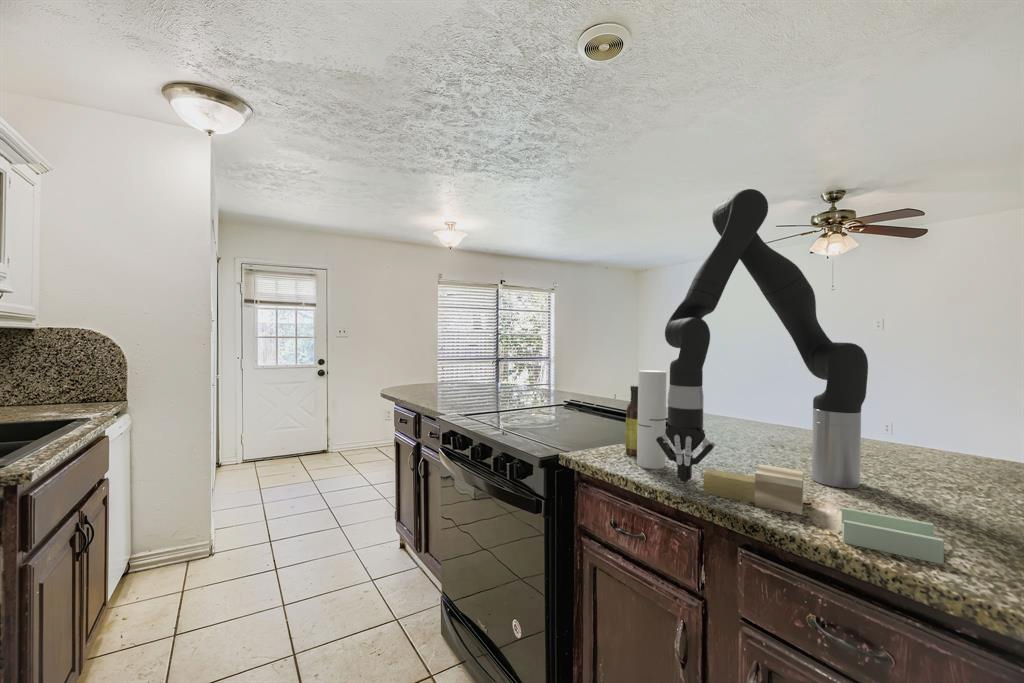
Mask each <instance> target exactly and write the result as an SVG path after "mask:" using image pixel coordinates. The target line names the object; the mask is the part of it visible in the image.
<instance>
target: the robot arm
mask: <svg viewBox="0 0 1024 683" xmlns="http://www.w3.org/2000/svg"><path fill="white" fill-rule="evenodd" d="M768 212H769V203H768V200H767V198H766V196H765V194H763V193H762V192H761V191H760V190H757V189H754V188H747V189H743V190H741V191H738V192H735V193H734V194H733V195H731V196H730V197H727V198H726V199H724V200H723V201H721V202H720V203H719V204H717V205H716V206H715V208H714V209H713V211H712V216H711V219H712V224H713V227H714V229H715V230H716V232H717V233H718V235H720V238H719V240H718V241H717V243H716V245H715V247H714V248H713V249H712V251H710V254H708V255H707V258H706V259H705V260H704V261H703V263H702V264H701V265H700V267H699V269H698V270H697V272H696V273H695V274H694V275H695V276H694V277H693V279H692V281H691V283H690V286H689V288H688V290H687V293H686V295H685V297H684V299H683V300H682V301H681V302H680V304H679V305H678V306H677V308H676V309H675V310H674V312H673V313H672V315H671V316H670V318H669V319H668V321H667V323H666V325H665V329H664V338H665V340H666V343H667V344H668V345H669V346H671V347H672V348H676V349H679V353H678V357H677V358H676V359H674V360H672V361H671V362H670V363H669V364H670V365H669V386H668V387H669V389H668V393H667V427H666V431H665V434H664V435H662V436H659V437H658V438H657V439H656V441H657V443H658V444H659V445H660V447H661V448H662V450H663V451H664V453H665V456H666V457H667V458H668V460H669V461H671V462H672V461H673V462H675V463H676V464H677V465H676V466H677V468H676V469H677V470H676V471H677V476H676V477H677V478H678V479H679V481H680V482H683V483H688V482H689V481H690V480H691V479H692V477H693V474H692V473H693V466H694V465H699V464H700V462H701V461H702V460H703V459H705V457H706V456H708V454H709V453H710V452H712V451H713V449H714V448H715V447H716V443H714V441H713V442H711V441H710V440H708V438H707V437H706V433H705V431H704V391H703V390H704V389H703V381H704V380H703V379H704V378H703V377H704V376H703V374H704V373H703V372H704V371H703V369H704V365H705V362H706V358H707V354H708V350H709V346H710V343H711V332H710V327H709V325H708V323H707V322H706V321H705V320H704V319H703V318H704V317H706V316H708V315H709V314H712V313H714V311H715V309H716V308H717V305H718V304H719V302H720V299H721V297H722V295H723V293H724V290H725V289H726V286H727V284H728V281H729V280H730V278H731V275H732V274H733V271H734V270H735V267H737V265H738V263H739V261H741V263H742V265H743V266H744V267H745V269H746V271H747V272H748V274H749V275H750V276H751V277H752V279H753V280H754V282H755V283H756V285H757V286H758V288H759V290H760V292H761V293H762V295H763V296H764V298H765V299H766V301H767V302H768V304H769V305H770V307H771V308H772V310H773V311H774V312H775V314H776V315H777V317H778V318H779V320H780V321H781V323H782V325H783V327H784V328H785V329H786V331H787V333H788V334H789V336H790V337H791V339H792V340H793V342H794V344H795V346H796V349H797V351H798V353H799V355H800V356H801V358H802V361H803V363H804V364H805V366H806V368H807V370H808V371H809V372H810V373H811V375H813V376H814V377H816V378H818V379H821V380H824V381H826V387H825V390H824V391H823V392H822V393H821V394H818V395H815V396H814V397H813V400H812V443H811V444H812V446H811V450H812V453H811V460H812V461H811V479H812V480H813V481H814V482H816V483H819V484H822V485H824V486H829V487H834V488H842V489H858V488H860V486H861V447H862V446H861V445H862V444H861V443H862V441H861V440H862V436H861V435H862V434H861V433H862V407H863V403H864V402H865V400H866V396H867V388H868V386H867V385H868V375H869V374H868V373H869V361H868V356H867V354H866V352H865V350H864V349H863V347H861V346H860V345H858V344H856V343H854V342H853V343H852V342H833V341H832V339H830V338H829V336H827V334H826V333H825V331H824V329H823V328H822V326H821V324H820V323H819V321H818V317H817V303H816V294H815V291H814V289H813V287H812V285H811V284H810V282H809V281H808V279H807V278H806V276H805V275H804V273H803V271H802V270H801V269H800V268H799V267H798V265H797V264H796V263H794V262H793V261H792V260H790V259H789V258H787V257H785V256H784V255H783V254H781V253H779V252H778V251H776V250H774V249H773V248H771V247H770V246H769V245H768V244H767V243H766V242H765V241H764V240H763V239H762V238H761V237H760V234H758V231H759V229H760V227H761V226H762V225H763V223H764V221H765V220H766V218H767V216H768ZM669 441H670V443H671V444H672V446H673V447H674V448H675V450H674V449H673V448H672V446H671V445H670V443H669ZM701 443H702V445H701ZM700 445H701V448H702V451H700V452H699V454H697V455H696V457H694V454H695V450H696V449H697V448H698V447H699V446H700Z"/></svg>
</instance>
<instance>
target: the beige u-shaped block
mask: <svg viewBox="0 0 1024 683" xmlns="http://www.w3.org/2000/svg"><path fill="white" fill-rule="evenodd" d="M754 475H755V476H754V477H755V503H754V506H755V507H759V508H766V509H769V508H770V509H771V510H774V511H779V510H780V512H786V513H789V512H791V514H795V513H796V514H795V515H801V516H802V515H803V508H802V494H803V495H804V470H802V469H795V468H794V469H793V468H788V467H779V466H774V465H767V464H761V463H759V464H758V466H757V469H756V470H755V473H754ZM770 509H769V510H770Z"/></svg>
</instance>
